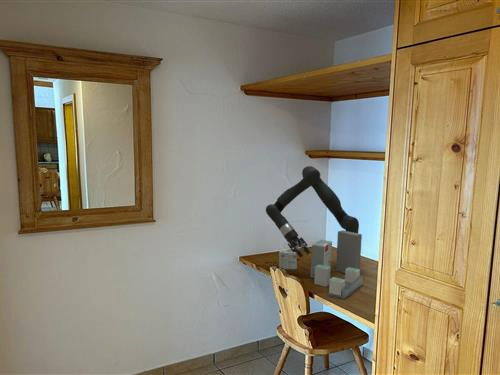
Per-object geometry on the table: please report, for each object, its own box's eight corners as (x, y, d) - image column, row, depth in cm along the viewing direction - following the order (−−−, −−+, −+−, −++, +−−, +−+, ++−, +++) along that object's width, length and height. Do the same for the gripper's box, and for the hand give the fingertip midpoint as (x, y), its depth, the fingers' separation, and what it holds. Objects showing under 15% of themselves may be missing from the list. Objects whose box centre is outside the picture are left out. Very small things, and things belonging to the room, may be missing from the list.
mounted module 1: (333, 289, 208) (333, 276, 207) (344, 292, 204) (345, 279, 203) (329, 292, 204) (329, 279, 203) (340, 295, 200) (341, 281, 199)
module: (318, 281, 224) (319, 264, 223) (329, 284, 220) (330, 266, 219) (314, 283, 220) (315, 266, 219) (325, 286, 216) (326, 268, 215)
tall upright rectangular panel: (360, 274, 237) (362, 234, 234) (354, 276, 233) (356, 235, 230) (341, 268, 248) (343, 230, 245) (335, 270, 244) (337, 231, 241)
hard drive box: (322, 280, 226) (324, 246, 224) (310, 278, 230) (311, 244, 228) (331, 272, 240) (332, 240, 237) (319, 270, 243) (320, 239, 241)
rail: (347, 281, 225) (347, 273, 225) (362, 284, 220) (362, 277, 219) (327, 295, 204) (328, 286, 204) (344, 299, 199) (344, 290, 198)
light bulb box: (295, 266, 252) (295, 249, 250) (296, 269, 245) (297, 252, 244) (278, 266, 251) (279, 249, 250) (279, 269, 245) (280, 252, 243)
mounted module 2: (348, 279, 225) (348, 266, 224) (359, 281, 221) (359, 269, 220) (344, 281, 221) (345, 269, 220) (355, 284, 217) (356, 271, 216)
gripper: (286, 230, 223) (303, 254, 217) (298, 226, 234) (315, 248, 229) (278, 238, 226) (295, 261, 221) (290, 234, 238) (307, 256, 233)
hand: (305, 255), depth 225 cm, fingers open, 8 cm apart
